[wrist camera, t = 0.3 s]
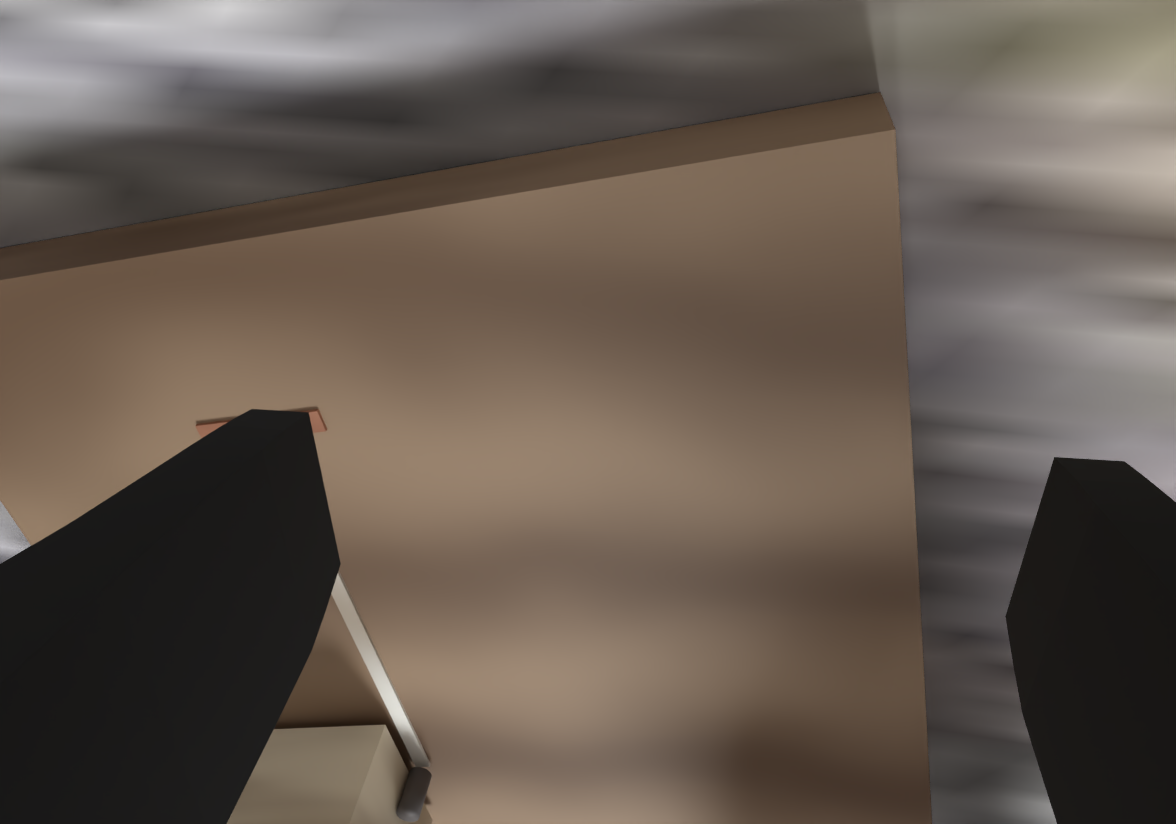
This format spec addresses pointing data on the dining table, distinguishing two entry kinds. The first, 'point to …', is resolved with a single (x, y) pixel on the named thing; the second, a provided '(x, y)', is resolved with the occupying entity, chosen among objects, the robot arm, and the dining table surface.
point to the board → (549, 457)
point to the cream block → (333, 780)
